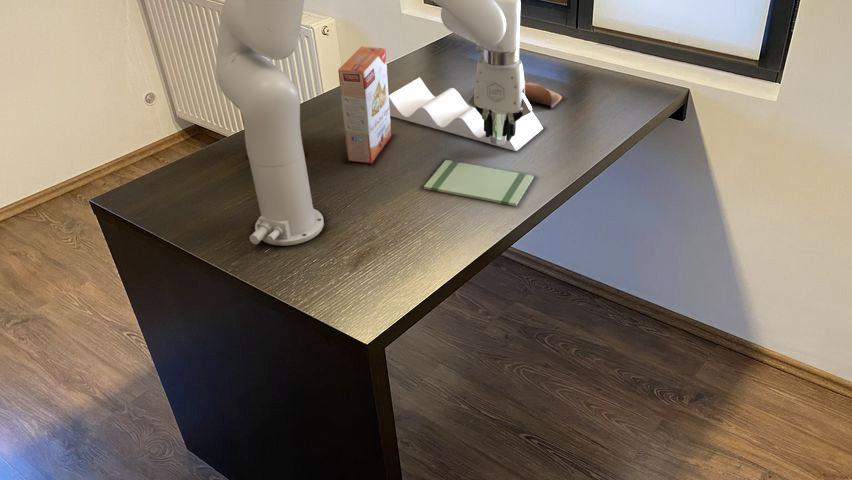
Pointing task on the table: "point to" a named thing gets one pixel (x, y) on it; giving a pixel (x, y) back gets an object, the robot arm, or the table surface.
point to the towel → (479, 182)
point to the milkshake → (498, 127)
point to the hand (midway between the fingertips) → (499, 135)
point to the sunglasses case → (541, 94)
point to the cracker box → (365, 103)
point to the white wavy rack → (453, 114)
